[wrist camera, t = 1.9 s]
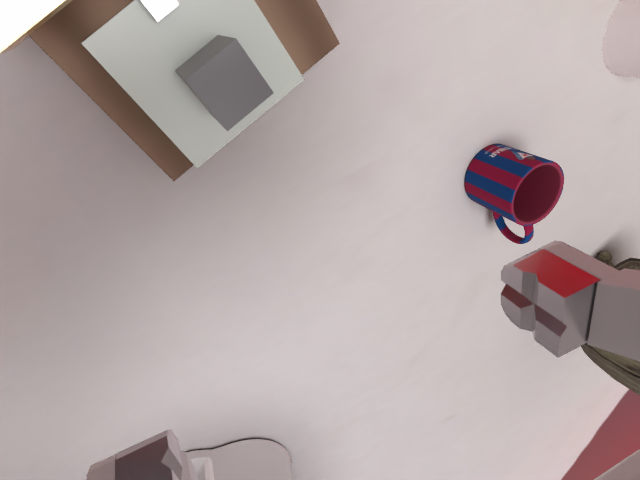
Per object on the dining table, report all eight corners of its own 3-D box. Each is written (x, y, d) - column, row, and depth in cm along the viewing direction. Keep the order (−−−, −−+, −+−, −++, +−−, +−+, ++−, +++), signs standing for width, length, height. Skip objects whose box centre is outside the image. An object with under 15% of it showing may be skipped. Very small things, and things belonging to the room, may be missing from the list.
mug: (516, 138, 48) (570, 154, 42) (504, 220, 53) (551, 244, 47) (466, 150, 46) (516, 169, 40) (459, 234, 51) (502, 261, 45)
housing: (169, 169, 35) (173, 181, 32) (4, 1, 27) (-7, 0, 24) (323, 41, 35) (339, 43, 33) (207, -163, 27) (217, -180, 25)
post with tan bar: (77, 84, 27) (62, 114, 19) (-2, 5, 24) (-58, 1, 16) (179, 0, 27) (207, -4, 19) (113, -89, 24) (115, -137, 16)
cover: (194, 163, 32) (210, 191, 27) (82, 42, 26) (75, 49, 21) (298, 77, 33) (333, 89, 27) (209, -62, 27) (232, -79, 22)
